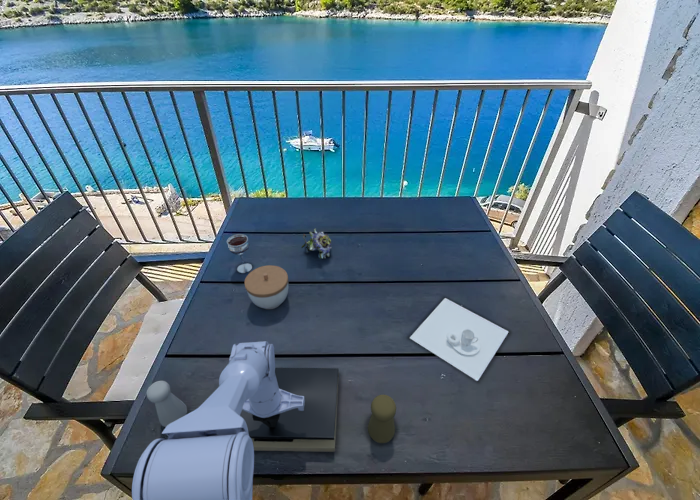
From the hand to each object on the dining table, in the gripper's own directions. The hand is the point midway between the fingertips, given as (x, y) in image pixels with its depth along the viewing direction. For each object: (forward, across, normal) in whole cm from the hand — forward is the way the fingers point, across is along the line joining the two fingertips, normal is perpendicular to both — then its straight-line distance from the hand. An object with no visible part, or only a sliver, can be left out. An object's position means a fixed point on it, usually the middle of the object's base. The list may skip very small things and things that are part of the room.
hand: (273, 422), depth 73 cm
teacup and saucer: (+6, -46, -28) cm, 54 cm away
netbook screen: (+2, 0, -6) cm, 6 cm away
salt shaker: (+6, +24, -3) cm, 24 cm away
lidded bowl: (+6, +9, -40) cm, 41 cm away
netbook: (+5, 0, -6) cm, 8 cm away
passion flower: (+6, -3, -63) cm, 63 cm away
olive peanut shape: (+6, -23, -2) cm, 24 cm away
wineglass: (+6, +21, -55) cm, 59 cm away
